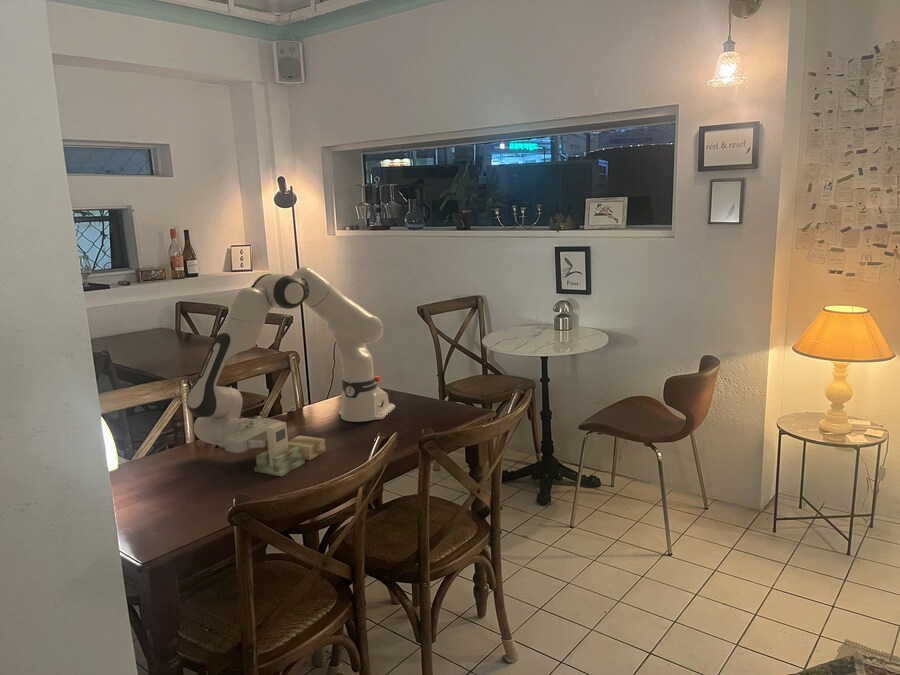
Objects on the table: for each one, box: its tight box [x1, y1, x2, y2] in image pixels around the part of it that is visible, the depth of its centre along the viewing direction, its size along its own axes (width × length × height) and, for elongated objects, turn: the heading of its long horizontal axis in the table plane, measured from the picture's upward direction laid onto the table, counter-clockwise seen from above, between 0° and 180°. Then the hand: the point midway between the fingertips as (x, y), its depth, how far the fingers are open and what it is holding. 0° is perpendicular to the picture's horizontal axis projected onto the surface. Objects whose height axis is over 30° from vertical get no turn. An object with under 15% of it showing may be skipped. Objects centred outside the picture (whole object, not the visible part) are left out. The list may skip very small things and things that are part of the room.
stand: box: [288, 434, 326, 461], centre depth 214 cm, size 8×10×4 cm
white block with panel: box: [266, 421, 289, 467], centre depth 202 cm, size 6×3×12 cm, turn 154°
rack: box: [253, 446, 306, 477], centre depth 203 cm, size 11×10×5 cm
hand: (275, 439), depth 202 cm, fingers open, 8 cm apart
